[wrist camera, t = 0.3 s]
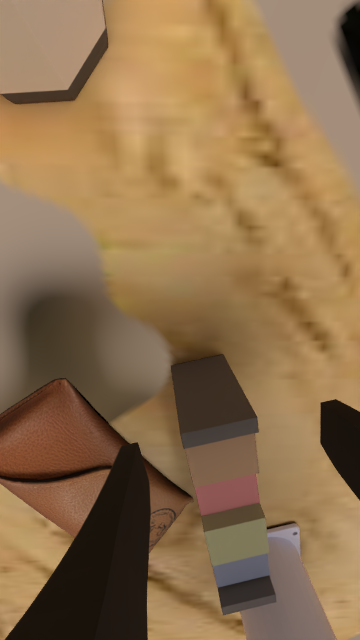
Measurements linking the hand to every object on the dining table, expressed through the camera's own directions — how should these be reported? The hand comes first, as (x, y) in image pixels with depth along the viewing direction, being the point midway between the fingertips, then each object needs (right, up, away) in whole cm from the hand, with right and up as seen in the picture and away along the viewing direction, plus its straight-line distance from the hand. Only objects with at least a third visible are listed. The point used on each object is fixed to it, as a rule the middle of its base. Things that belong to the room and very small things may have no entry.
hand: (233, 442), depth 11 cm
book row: (+1, -6, +13) cm, 14 cm away
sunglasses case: (-9, -8, +13) cm, 18 cm away
